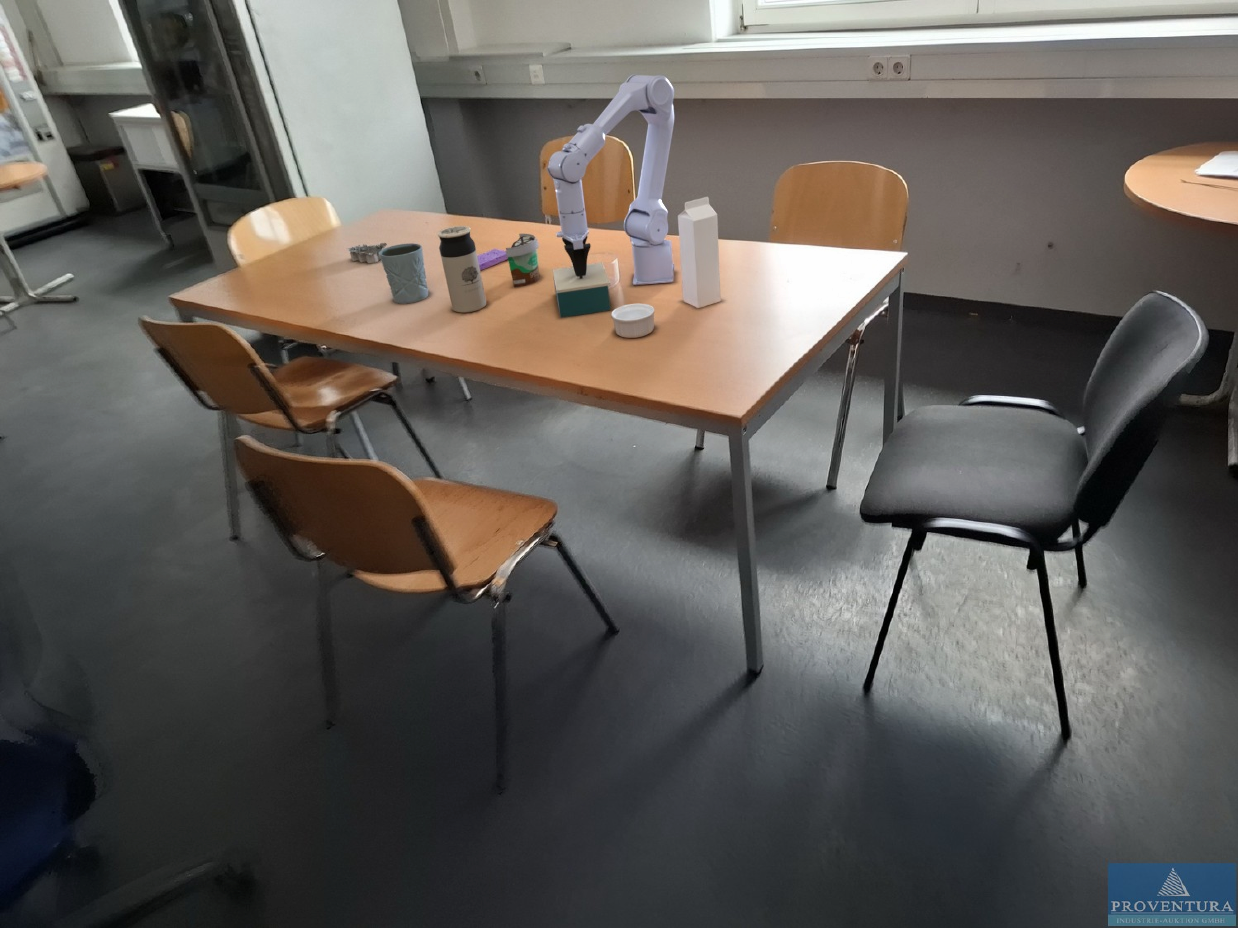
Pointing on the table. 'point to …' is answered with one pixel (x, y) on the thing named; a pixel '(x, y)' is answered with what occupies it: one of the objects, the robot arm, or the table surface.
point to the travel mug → (461, 269)
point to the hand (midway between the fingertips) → (579, 272)
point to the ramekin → (633, 320)
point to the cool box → (583, 301)
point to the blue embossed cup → (405, 272)
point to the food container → (523, 260)
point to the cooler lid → (580, 278)
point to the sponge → (491, 258)
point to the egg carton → (366, 253)
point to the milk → (699, 253)
